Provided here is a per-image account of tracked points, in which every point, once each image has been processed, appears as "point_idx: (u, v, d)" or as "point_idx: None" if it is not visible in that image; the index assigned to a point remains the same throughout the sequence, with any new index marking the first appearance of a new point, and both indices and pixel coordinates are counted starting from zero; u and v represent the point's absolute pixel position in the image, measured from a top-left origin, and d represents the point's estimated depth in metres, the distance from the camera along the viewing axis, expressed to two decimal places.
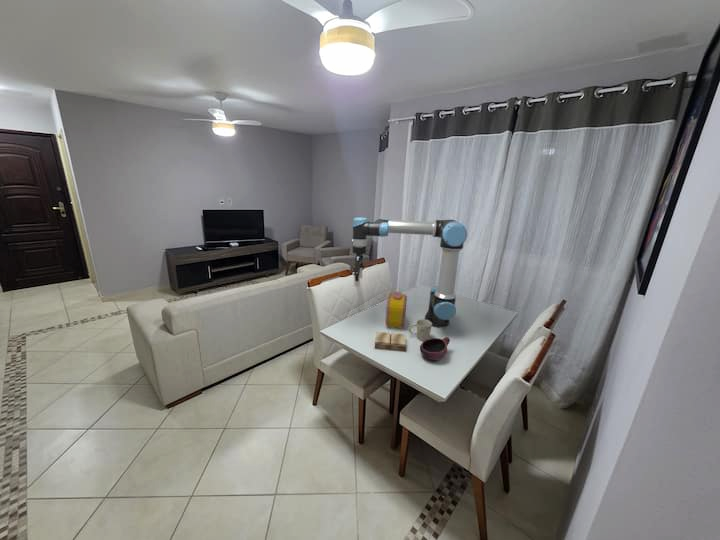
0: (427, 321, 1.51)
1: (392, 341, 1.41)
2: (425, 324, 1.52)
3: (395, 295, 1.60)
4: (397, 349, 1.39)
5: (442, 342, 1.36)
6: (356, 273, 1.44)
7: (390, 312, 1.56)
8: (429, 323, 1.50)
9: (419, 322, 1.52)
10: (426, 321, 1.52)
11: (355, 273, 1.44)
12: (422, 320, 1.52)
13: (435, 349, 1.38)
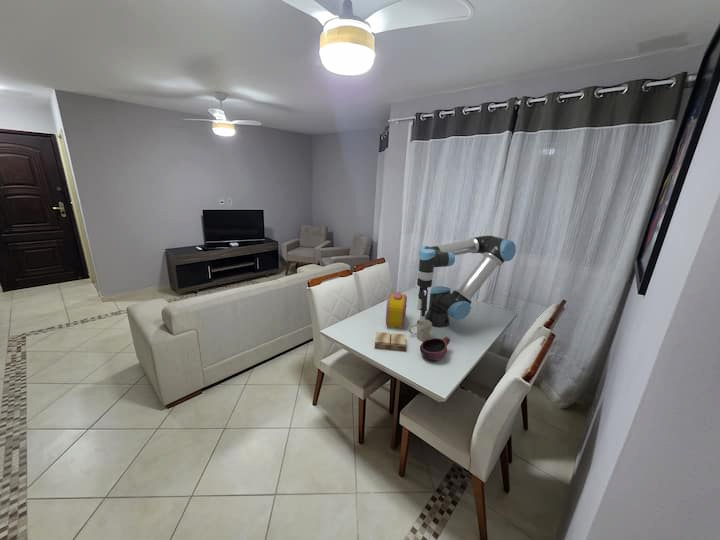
0: (427, 321, 1.51)
1: (392, 341, 1.41)
2: (425, 324, 1.52)
3: (395, 295, 1.60)
4: (397, 349, 1.39)
5: (442, 342, 1.37)
6: (424, 309, 1.36)
7: (390, 312, 1.56)
8: (429, 323, 1.50)
9: (419, 322, 1.52)
10: (426, 321, 1.52)
11: (423, 309, 1.36)
12: None
13: (435, 349, 1.38)
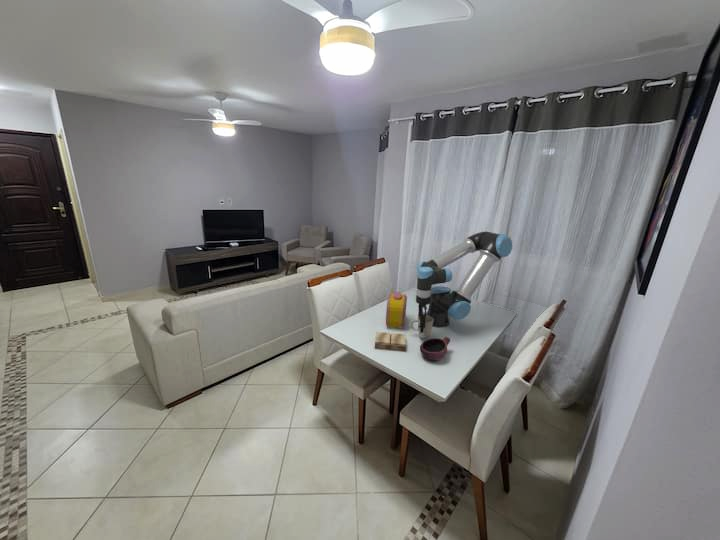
0: (428, 317, 1.51)
1: (392, 341, 1.41)
2: (426, 320, 1.52)
3: (395, 295, 1.60)
4: (397, 349, 1.39)
5: (442, 342, 1.36)
6: (422, 326, 1.43)
7: (390, 312, 1.56)
8: (430, 319, 1.50)
9: None
10: (427, 317, 1.51)
11: (421, 326, 1.43)
12: None
13: (435, 349, 1.38)
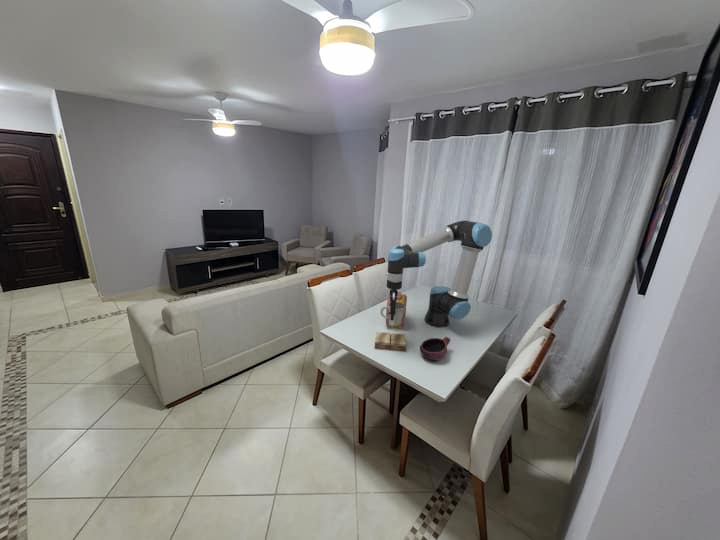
0: (400, 304, 1.41)
1: (392, 341, 1.41)
2: (398, 307, 1.42)
3: None
4: (397, 349, 1.39)
5: (442, 342, 1.36)
6: (392, 312, 1.32)
7: None
8: (402, 306, 1.40)
9: None
10: (399, 304, 1.41)
11: (391, 312, 1.32)
12: None
13: (435, 349, 1.38)
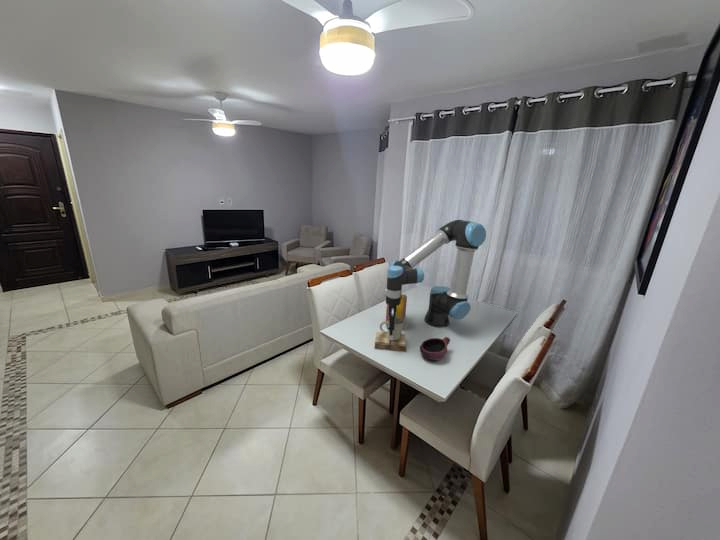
0: (399, 318, 1.43)
1: (392, 341, 1.41)
2: (397, 322, 1.44)
3: None
4: (397, 349, 1.39)
5: (442, 342, 1.36)
6: (391, 328, 1.35)
7: None
8: (401, 321, 1.42)
9: None
10: (398, 318, 1.44)
11: (390, 328, 1.35)
12: None
13: (435, 349, 1.38)
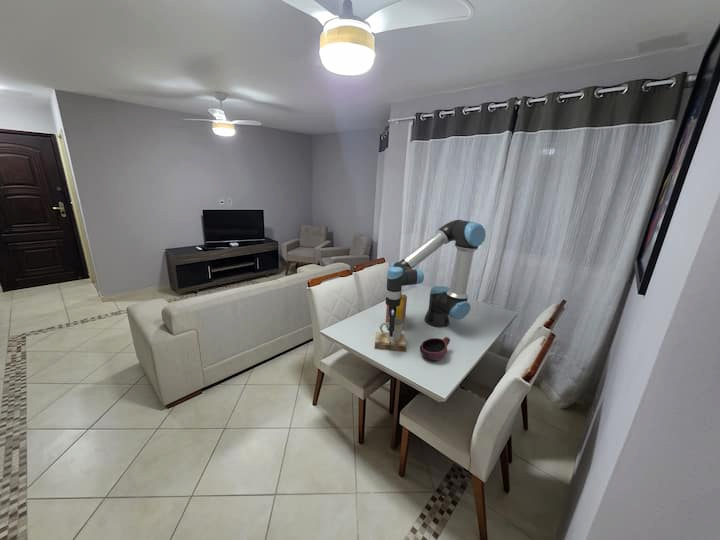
0: (399, 320, 1.44)
1: None
2: (397, 323, 1.45)
3: None
4: (397, 349, 1.39)
5: (442, 342, 1.36)
6: (391, 329, 1.31)
7: None
8: (401, 322, 1.43)
9: None
10: (398, 320, 1.44)
11: (390, 329, 1.31)
12: None
13: (435, 349, 1.38)
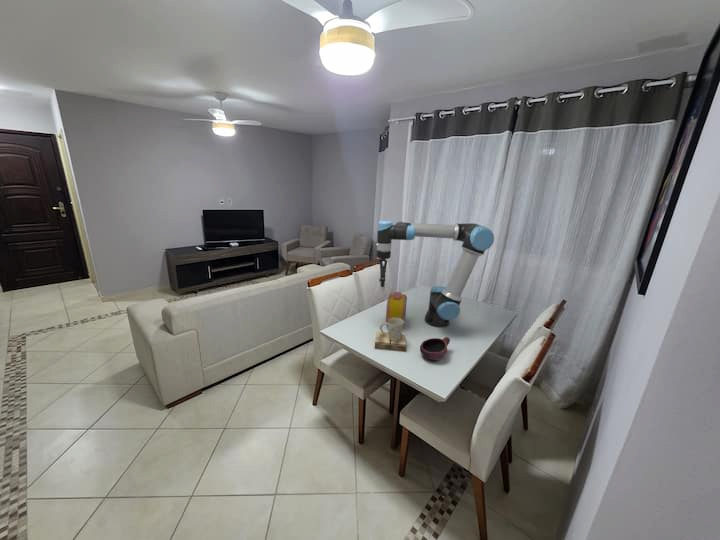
0: (399, 320, 1.44)
1: (392, 341, 1.41)
2: (397, 323, 1.45)
3: (395, 295, 1.60)
4: (397, 349, 1.39)
5: (442, 342, 1.36)
6: (382, 279, 1.39)
7: (390, 312, 1.56)
8: (401, 322, 1.43)
9: (391, 321, 1.44)
10: (398, 320, 1.44)
11: (381, 279, 1.39)
12: (394, 319, 1.44)
13: (435, 349, 1.38)
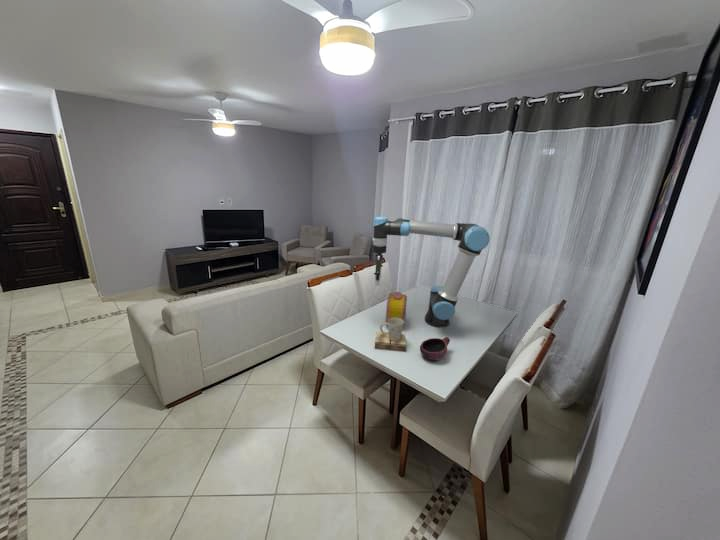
0: (399, 320, 1.44)
1: (392, 341, 1.41)
2: (397, 323, 1.45)
3: (395, 295, 1.60)
4: (397, 349, 1.39)
5: (442, 342, 1.36)
6: (377, 272, 1.44)
7: (390, 312, 1.56)
8: (401, 322, 1.43)
9: (391, 321, 1.44)
10: (398, 320, 1.44)
11: (376, 272, 1.44)
12: (394, 319, 1.44)
13: (435, 349, 1.38)
